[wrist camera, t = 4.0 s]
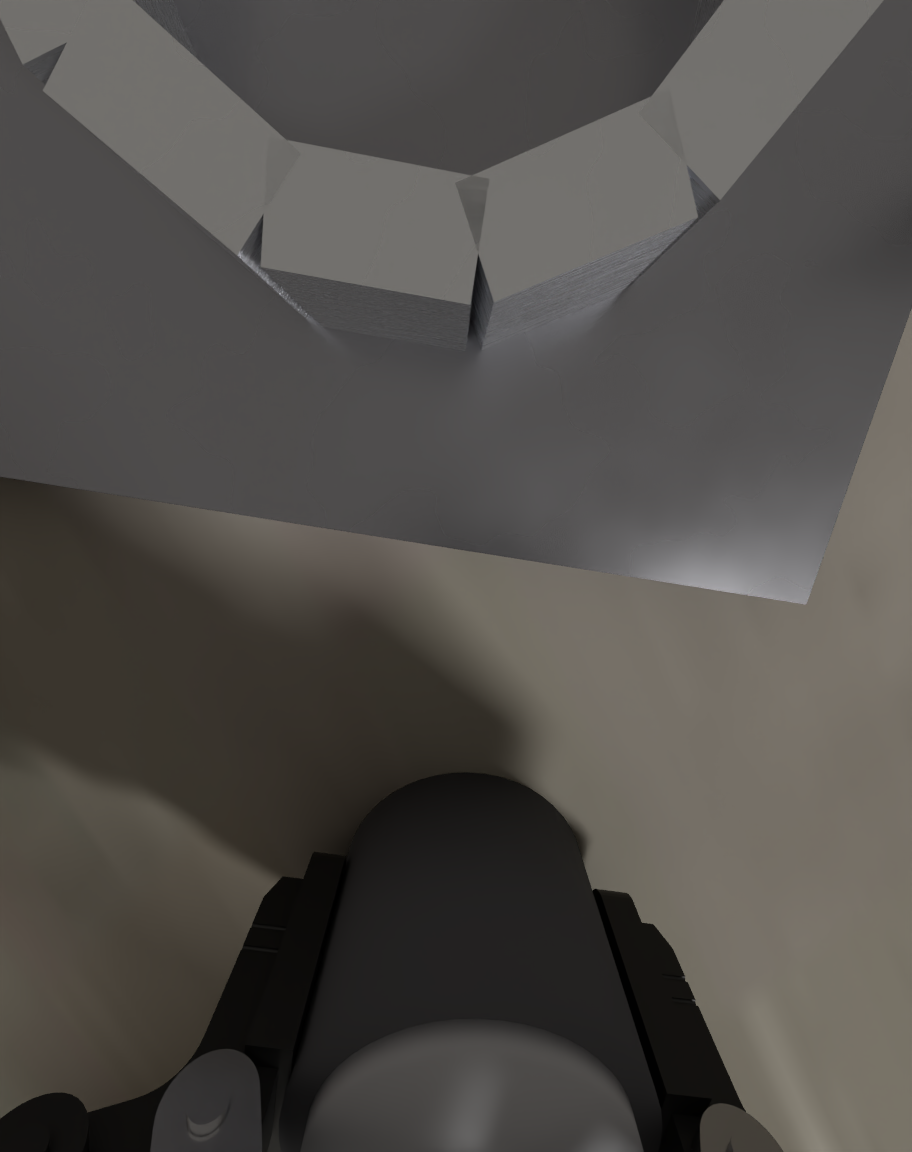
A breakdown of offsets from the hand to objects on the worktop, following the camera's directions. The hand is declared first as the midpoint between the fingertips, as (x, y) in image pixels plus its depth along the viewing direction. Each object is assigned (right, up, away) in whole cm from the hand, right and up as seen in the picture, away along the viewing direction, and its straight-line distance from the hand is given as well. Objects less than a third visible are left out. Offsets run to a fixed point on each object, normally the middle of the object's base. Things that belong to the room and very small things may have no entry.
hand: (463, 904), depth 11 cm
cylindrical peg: (0, 0, +1) cm, 1 cm away
